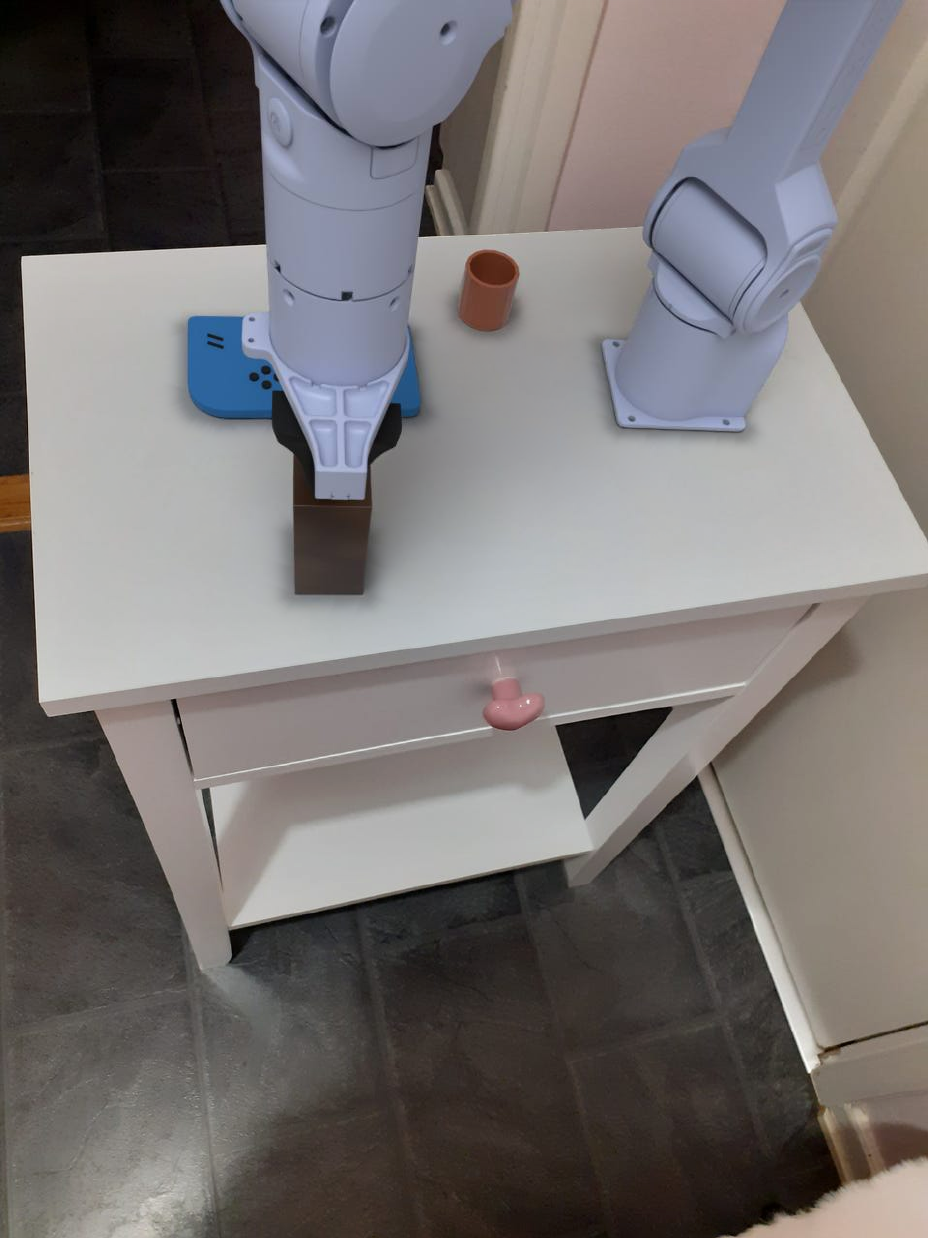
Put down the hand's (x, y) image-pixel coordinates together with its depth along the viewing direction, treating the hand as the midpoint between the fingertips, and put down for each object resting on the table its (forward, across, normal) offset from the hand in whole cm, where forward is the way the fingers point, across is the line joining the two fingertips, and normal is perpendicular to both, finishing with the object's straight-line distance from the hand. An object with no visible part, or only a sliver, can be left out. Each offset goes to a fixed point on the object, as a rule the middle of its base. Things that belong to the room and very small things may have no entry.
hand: (332, 467), depth 47 cm
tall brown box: (+10, 0, 0) cm, 10 cm away
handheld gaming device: (+10, -15, -2) cm, 18 cm away
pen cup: (+10, -22, +12) cm, 27 cm away
